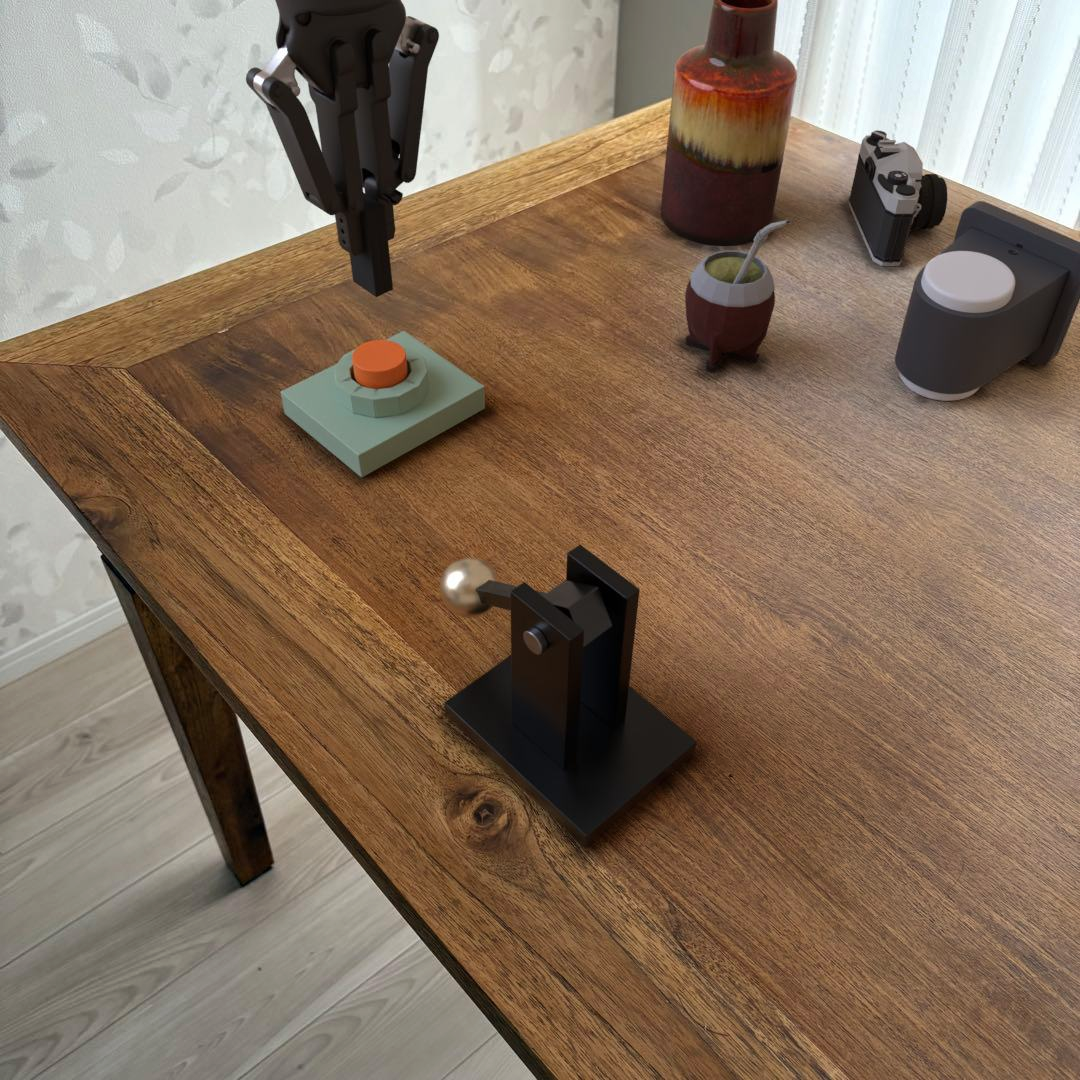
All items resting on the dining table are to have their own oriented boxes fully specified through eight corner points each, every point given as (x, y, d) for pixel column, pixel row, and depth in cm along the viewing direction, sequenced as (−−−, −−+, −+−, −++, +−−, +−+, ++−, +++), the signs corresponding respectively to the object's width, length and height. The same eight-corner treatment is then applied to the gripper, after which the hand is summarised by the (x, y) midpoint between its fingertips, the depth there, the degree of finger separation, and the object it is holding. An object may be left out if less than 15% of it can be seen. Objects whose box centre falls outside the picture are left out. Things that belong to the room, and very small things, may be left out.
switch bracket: (444, 715, 67) (432, 570, 57) (553, 636, 71) (557, 490, 62) (585, 849, 60) (596, 710, 51) (694, 754, 65) (723, 610, 56)
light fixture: (854, 371, 92) (880, 258, 84) (946, 304, 98) (978, 192, 90) (969, 435, 86) (1009, 320, 78) (1059, 359, 92) (1105, 245, 84)
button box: (361, 478, 81) (355, 436, 78) (284, 414, 86) (276, 372, 83) (485, 408, 87) (484, 367, 84) (406, 352, 92) (402, 311, 89)
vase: (760, 188, 112) (795, -26, 98) (781, 245, 105) (823, 21, 90) (653, 190, 112) (673, -25, 97) (668, 247, 104) (691, 23, 90)
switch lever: (441, 624, 67) (419, 572, 66) (486, 594, 69) (465, 543, 68) (577, 665, 56) (553, 605, 55) (626, 628, 58) (604, 569, 57)
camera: (956, 268, 102) (983, 173, 96) (873, 269, 102) (896, 174, 96) (910, 207, 112) (933, 117, 106) (835, 208, 111) (853, 118, 105)
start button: (375, 397, 82) (373, 378, 81) (343, 372, 84) (341, 354, 83) (418, 375, 84) (416, 356, 83) (386, 351, 86) (384, 333, 85)
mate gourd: (695, 319, 96) (717, 154, 85) (784, 342, 94) (818, 176, 83) (665, 365, 91) (684, 197, 80) (757, 391, 89) (789, 222, 78)
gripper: (382, -119, 67) (412, 232, 84) (191, -70, 61) (265, 298, 78) (462, -89, 63) (477, 272, 80) (268, -34, 57) (328, 345, 74)
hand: (373, 285), depth 79 cm, fingers closed
